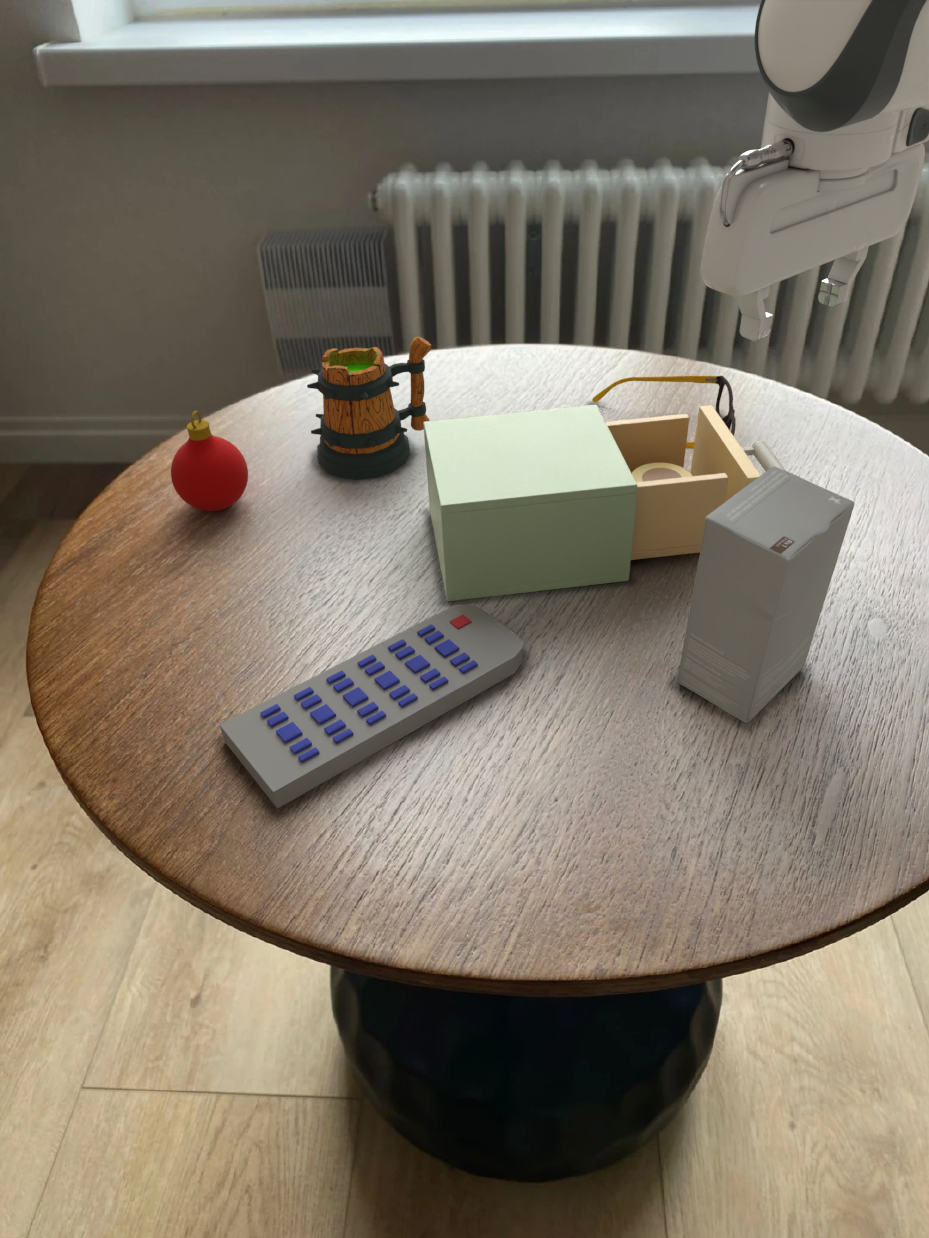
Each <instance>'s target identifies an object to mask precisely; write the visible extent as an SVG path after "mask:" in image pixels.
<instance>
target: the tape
mask: <svg viewBox="0 0 929 1238" xmlns="http://www.w3.org/2000/svg"><path fill="white" fill-rule="evenodd" d="M632 475H633V477H634V479H635V481H636V482H644V481H654V480H663V479H672V478H682V477H691V476H692V474H691V471H689V470H688V469H686V468H685V467H683V468H682V467H680V466H677V465H674V464H670V463H649V464H645V465H642V466H640V467H638V468H636V469H635V470H634V471H633V472H632Z"/></svg>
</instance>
